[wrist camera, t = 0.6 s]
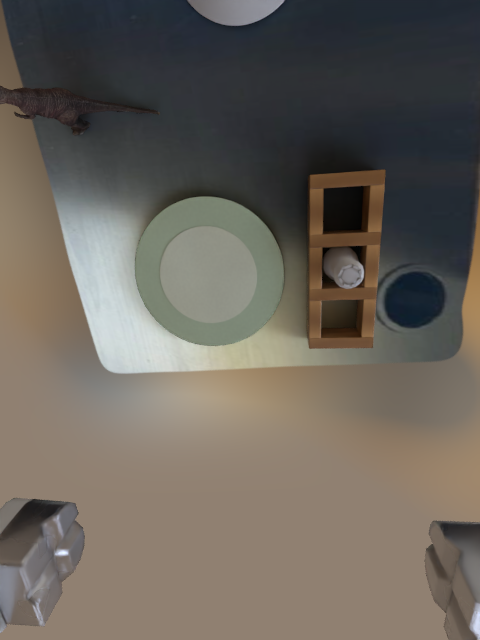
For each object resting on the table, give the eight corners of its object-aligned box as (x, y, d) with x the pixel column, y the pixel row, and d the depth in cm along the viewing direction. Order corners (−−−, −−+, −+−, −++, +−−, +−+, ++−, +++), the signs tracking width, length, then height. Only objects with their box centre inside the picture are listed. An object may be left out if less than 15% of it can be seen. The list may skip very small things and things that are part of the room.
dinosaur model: (-37, 76, 31) (125, 56, 30) (39, 101, 42) (160, 87, 41) (-21, 127, 33) (134, 109, 32) (48, 138, 44) (166, 126, 43)
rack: (307, 176, 42) (309, 174, 39) (377, 171, 41) (385, 169, 38) (307, 338, 49) (309, 348, 46) (366, 337, 48) (372, 348, 45)
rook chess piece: (335, 237, 44) (346, 247, 36) (364, 257, 44) (381, 270, 37) (314, 267, 46) (320, 282, 38) (342, 285, 46) (354, 304, 38)
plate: (126, 201, 45) (122, 201, 44) (282, 191, 43) (282, 191, 42) (149, 343, 52) (146, 346, 51) (285, 341, 50) (285, 345, 48)
